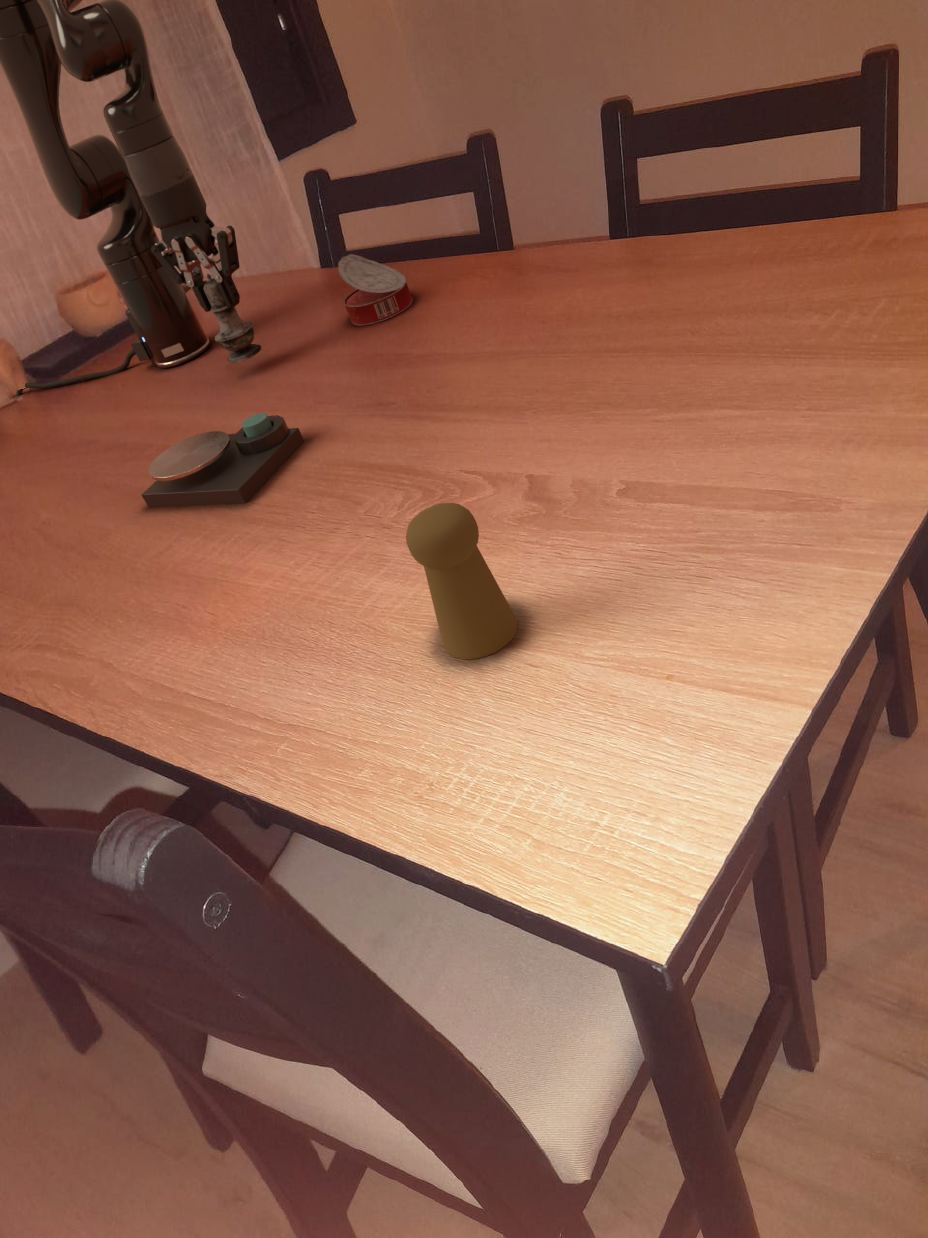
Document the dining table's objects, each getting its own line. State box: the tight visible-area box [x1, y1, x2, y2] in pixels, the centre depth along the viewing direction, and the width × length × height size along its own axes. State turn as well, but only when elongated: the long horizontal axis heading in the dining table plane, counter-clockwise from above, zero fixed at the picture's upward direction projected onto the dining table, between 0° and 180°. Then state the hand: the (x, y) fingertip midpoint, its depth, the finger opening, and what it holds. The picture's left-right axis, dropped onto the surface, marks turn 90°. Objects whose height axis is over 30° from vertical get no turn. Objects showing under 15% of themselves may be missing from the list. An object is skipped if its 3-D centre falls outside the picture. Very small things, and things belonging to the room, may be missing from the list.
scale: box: [140, 414, 305, 509], centre depth 111 cm, size 15×14×4 cm
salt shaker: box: [204, 273, 262, 364], centre depth 134 cm, size 6×6×12 cm
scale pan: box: [148, 430, 230, 481], centre depth 110 cm, size 10×10×1 cm
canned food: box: [337, 253, 414, 327], centre depth 141 cm, size 11×10×10 cm
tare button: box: [241, 412, 272, 437], centre depth 110 cm, size 3×3×2 cm
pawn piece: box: [405, 502, 519, 660], centre depth 70 cm, size 6×6×11 cm
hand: (222, 306), depth 133 cm, fingers closed on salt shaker, 3 cm apart
